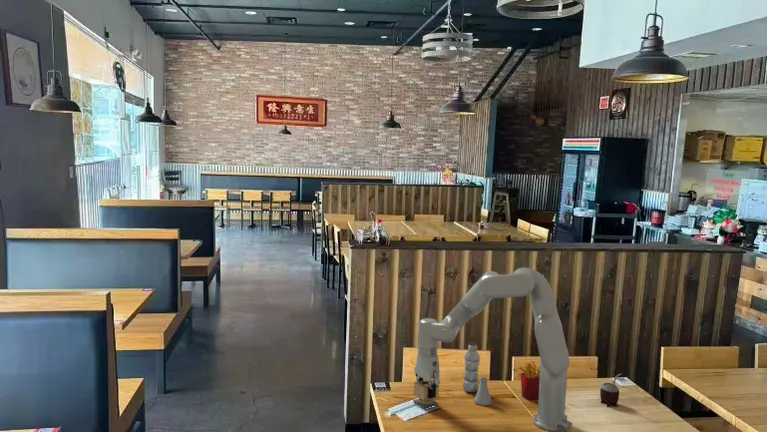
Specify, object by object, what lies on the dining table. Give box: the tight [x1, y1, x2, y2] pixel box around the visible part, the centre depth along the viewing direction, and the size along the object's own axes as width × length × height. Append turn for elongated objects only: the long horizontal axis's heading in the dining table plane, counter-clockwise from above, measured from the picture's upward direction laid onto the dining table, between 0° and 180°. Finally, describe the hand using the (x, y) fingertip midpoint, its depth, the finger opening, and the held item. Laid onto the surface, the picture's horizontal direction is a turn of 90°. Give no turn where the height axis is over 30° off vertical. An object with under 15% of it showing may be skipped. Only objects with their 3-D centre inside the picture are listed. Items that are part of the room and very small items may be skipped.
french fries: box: [518, 360, 540, 402], centre depth 218 cm, size 9×8×15 cm
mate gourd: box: [599, 373, 622, 408], centre depth 213 cm, size 8×8×15 cm
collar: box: [413, 379, 440, 401], centre depth 208 cm, size 7×7×5 cm
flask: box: [473, 376, 493, 406], centre depth 212 cm, size 7×7×10 cm
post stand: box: [412, 384, 439, 410], centre depth 208 cm, size 7×7×8 cm
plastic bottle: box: [462, 343, 481, 393], centre depth 223 cm, size 6×7×20 cm
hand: (426, 393), depth 208 cm, fingers closed on collar, 7 cm apart
